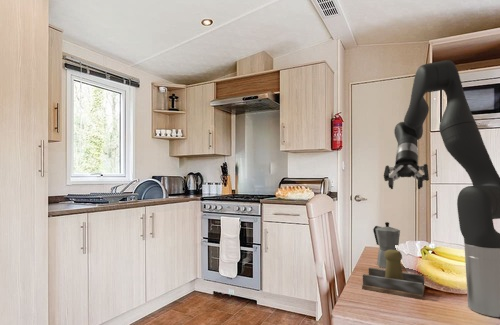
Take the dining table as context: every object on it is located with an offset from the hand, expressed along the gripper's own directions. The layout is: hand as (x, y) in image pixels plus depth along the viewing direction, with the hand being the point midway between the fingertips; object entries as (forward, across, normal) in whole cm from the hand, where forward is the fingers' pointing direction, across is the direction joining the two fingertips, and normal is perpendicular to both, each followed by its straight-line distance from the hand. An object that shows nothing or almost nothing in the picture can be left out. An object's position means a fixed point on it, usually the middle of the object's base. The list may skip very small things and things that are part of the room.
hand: (404, 187), depth 103 cm
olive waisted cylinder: (+27, -4, +18) cm, 33 cm away
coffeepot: (+9, -10, +38) cm, 40 cm away
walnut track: (+28, -4, +18) cm, 34 cm away
